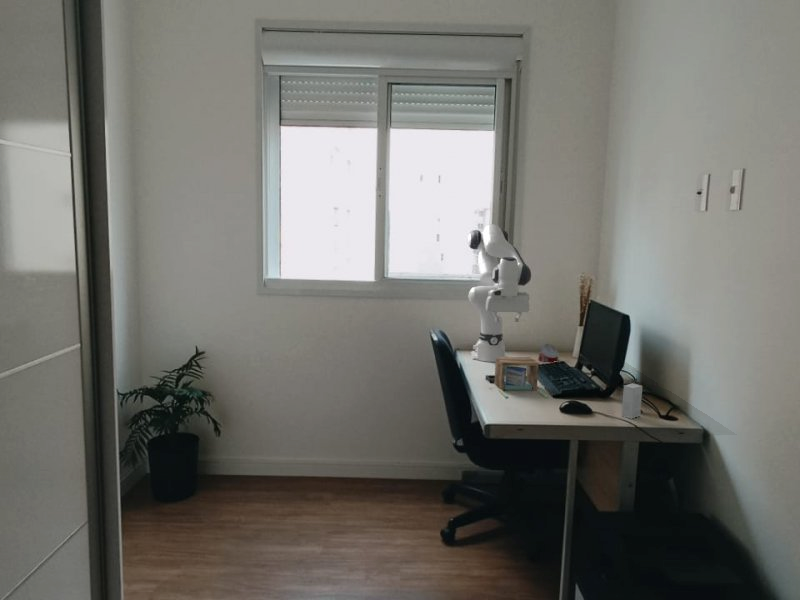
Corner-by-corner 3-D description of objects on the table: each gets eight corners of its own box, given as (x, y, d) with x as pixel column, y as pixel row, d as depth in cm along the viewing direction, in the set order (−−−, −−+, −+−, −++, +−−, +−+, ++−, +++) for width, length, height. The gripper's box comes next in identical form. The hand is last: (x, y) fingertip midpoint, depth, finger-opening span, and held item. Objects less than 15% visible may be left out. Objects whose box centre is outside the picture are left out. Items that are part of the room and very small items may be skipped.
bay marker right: (536, 390, 233) (536, 389, 232) (539, 390, 233) (539, 389, 233) (545, 397, 223) (545, 396, 223) (548, 397, 223) (548, 396, 223)
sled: (490, 375, 253) (491, 363, 252) (515, 375, 254) (516, 363, 254) (504, 389, 232) (505, 376, 231) (531, 389, 233) (532, 375, 232)
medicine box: (504, 386, 236) (506, 367, 235) (507, 384, 240) (509, 365, 239) (522, 389, 233) (524, 369, 232) (525, 387, 237) (526, 367, 236)
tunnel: (494, 384, 241) (495, 357, 239) (528, 383, 242) (530, 357, 241) (501, 390, 231) (502, 362, 229) (536, 390, 233) (538, 362, 231)
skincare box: (629, 413, 206) (632, 382, 205) (640, 416, 203) (643, 385, 201) (620, 416, 203) (623, 385, 201) (631, 419, 199) (634, 388, 198)
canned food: (554, 368, 291) (564, 352, 289) (550, 370, 282) (561, 354, 280) (536, 356, 295) (546, 340, 293) (532, 357, 286) (542, 342, 284)
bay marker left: (498, 390, 231) (498, 389, 230) (501, 390, 231) (501, 389, 231) (505, 398, 221) (505, 396, 221) (508, 398, 221) (508, 396, 221)
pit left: (485, 378, 249) (485, 375, 249) (496, 378, 250) (496, 375, 250) (489, 382, 242) (489, 379, 242) (500, 382, 243) (500, 379, 243)
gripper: (527, 292, 256) (526, 321, 257) (485, 291, 254) (484, 320, 254) (531, 292, 250) (530, 322, 250) (488, 292, 247) (487, 322, 248)
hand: (507, 321), depth 252 cm, fingers open, 8 cm apart
